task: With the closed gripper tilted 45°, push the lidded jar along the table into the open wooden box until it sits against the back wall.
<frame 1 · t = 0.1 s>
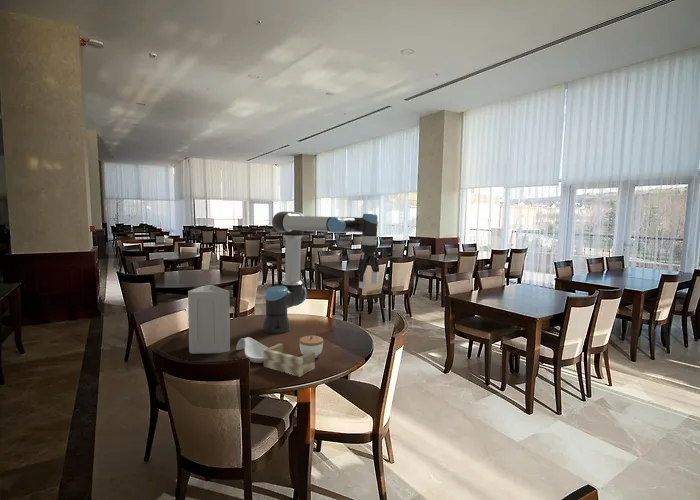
hand: (367, 286, 194), 28 cm above the table, tool pointing down, fingers open, 13 cm apart
lidded jar: (311, 356, 172), on the table
spoon rest: (252, 357, 170), on the table
open wooden box: (289, 367, 160), on the table
grey triangular prism: (205, 349, 178), on the table
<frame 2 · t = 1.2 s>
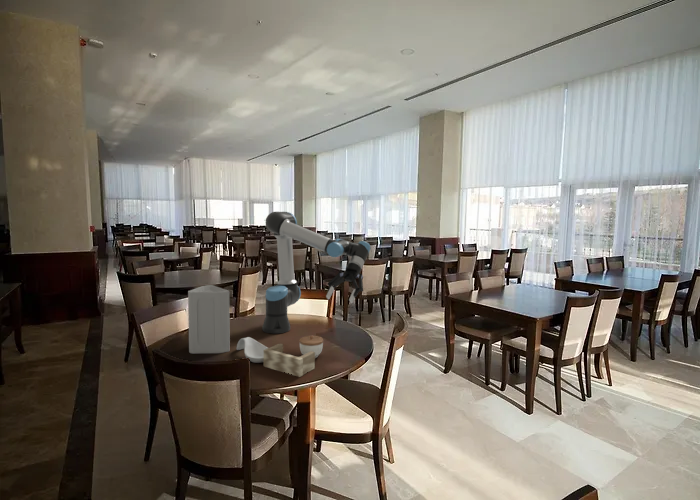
hand: (338, 299, 190), 22 cm above the table, tool tilted 45°, fingers open, 13 cm apart
nothing on the table moved.
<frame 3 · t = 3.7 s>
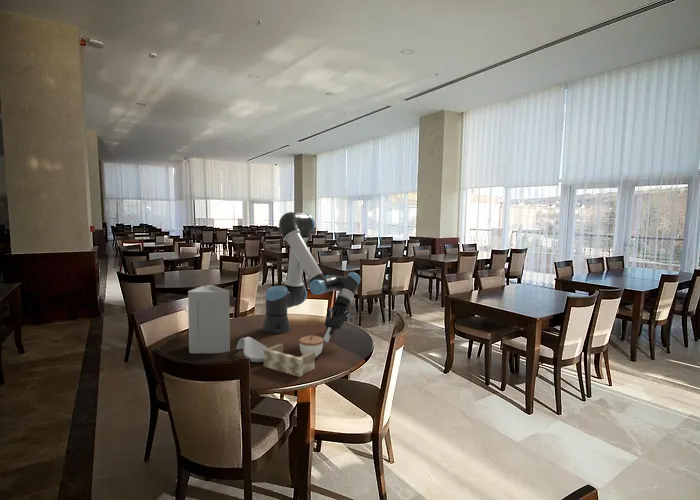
hand: (325, 340, 181), 4 cm above the table, tool tilted 45°, fingers closed
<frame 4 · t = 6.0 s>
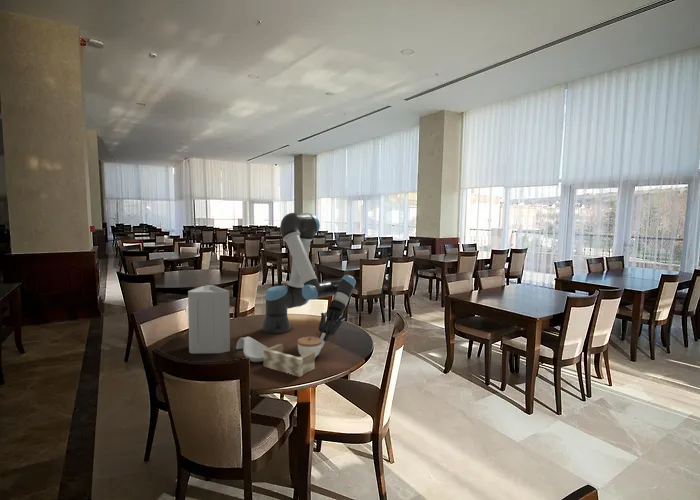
hand: (319, 346, 175), 3 cm above the table, tool tilted 45°, fingers closed
lidded jar: (309, 357, 171), on the table, touching gripper
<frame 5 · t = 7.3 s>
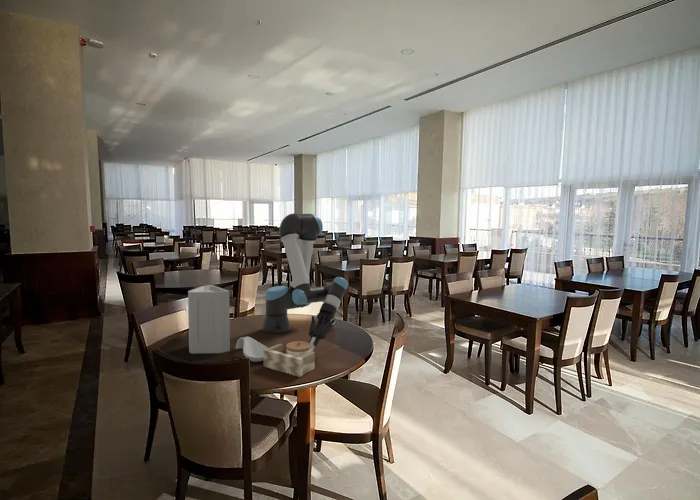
hand: (309, 351, 169), 3 cm above the table, tool tilted 45°, fingers closed
lidded jar: (298, 362, 165), on the table, touching gripper
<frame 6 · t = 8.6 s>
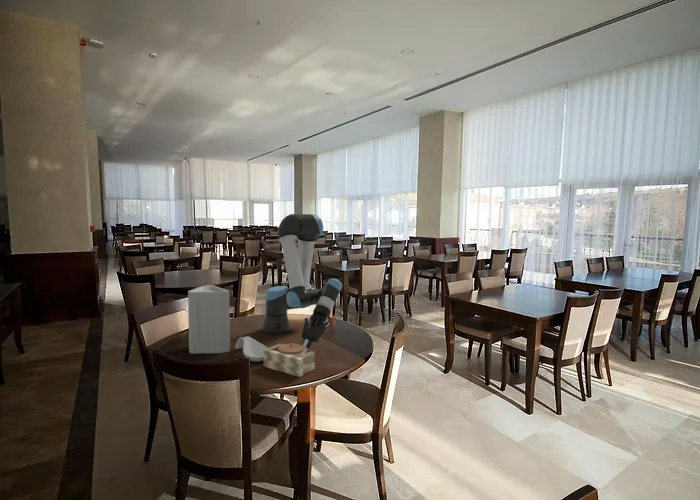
hand: (301, 354, 166), 3 cm above the table, tool tilted 45°, fingers closed
lidded jar: (291, 365, 162), on the table, touching open wooden box, gripper
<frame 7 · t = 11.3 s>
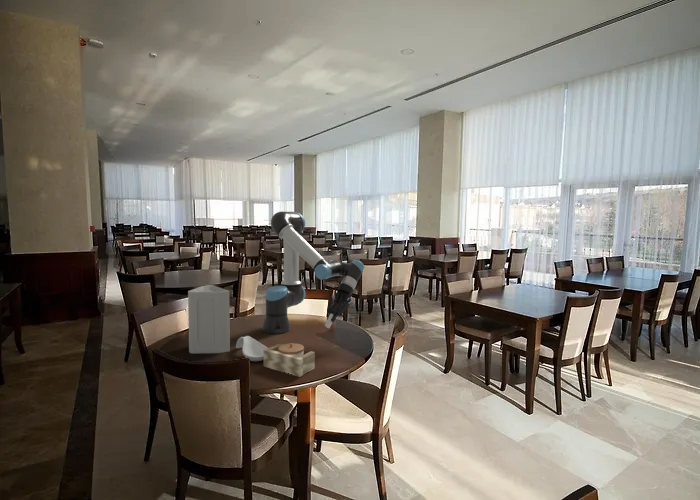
hand: (327, 326, 184), 10 cm above the table, tool tilted 45°, fingers closed
lidded jar: (290, 365, 162), on the table
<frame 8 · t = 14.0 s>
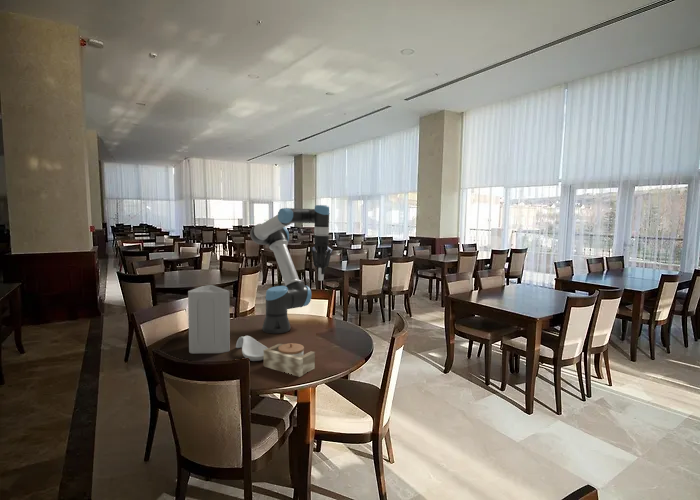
hand: (320, 280, 200), 29 cm above the table, tool pointing down, fingers closed
at the end: lidded jar inside the target area (0.9 cm from its centre), on the table; lidded jar tilted 0° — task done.
